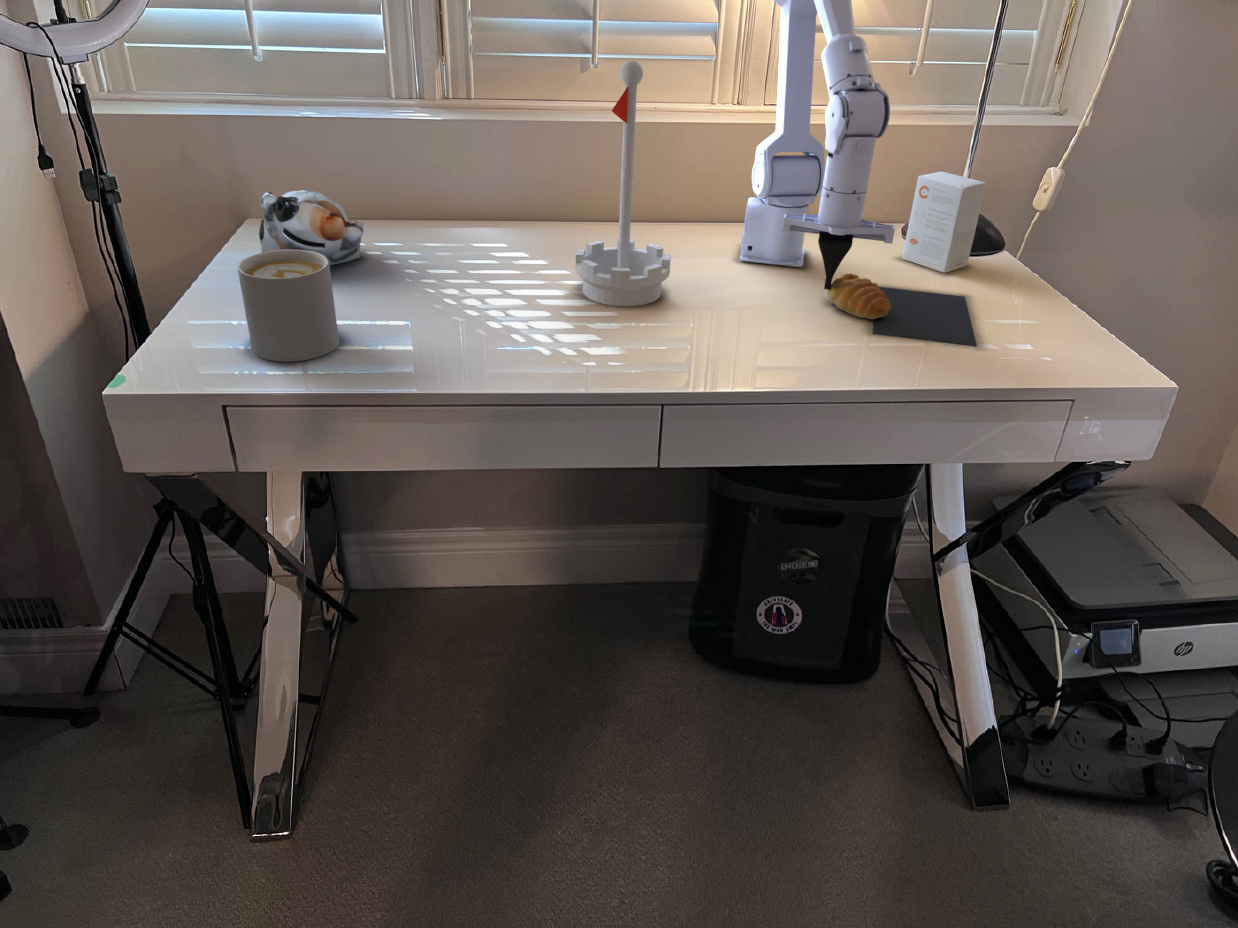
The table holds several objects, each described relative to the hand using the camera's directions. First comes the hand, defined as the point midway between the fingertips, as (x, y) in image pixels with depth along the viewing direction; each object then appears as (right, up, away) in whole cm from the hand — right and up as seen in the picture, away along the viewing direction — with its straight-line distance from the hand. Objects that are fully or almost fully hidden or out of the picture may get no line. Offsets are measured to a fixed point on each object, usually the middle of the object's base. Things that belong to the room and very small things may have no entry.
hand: (827, 287), depth 129 cm
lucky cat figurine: (-72, +4, +6) cm, 73 cm away
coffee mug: (-68, -9, -16) cm, 70 cm away
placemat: (+13, -4, -1) cm, 13 cm away
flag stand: (-29, 0, +2) cm, 29 cm away
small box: (+21, +7, +18) cm, 28 cm away
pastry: (+4, -3, 0) cm, 5 cm away
